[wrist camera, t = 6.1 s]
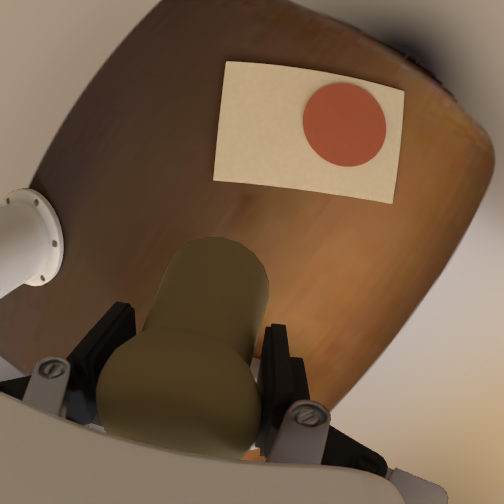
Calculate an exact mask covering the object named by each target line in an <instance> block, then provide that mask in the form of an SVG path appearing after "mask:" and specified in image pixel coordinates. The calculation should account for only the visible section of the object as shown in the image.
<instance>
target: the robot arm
mask: <svg viewBox="0 0 504 504" xmlns="http://www.w3.org/2000/svg"><path fill="white" fill-rule="evenodd" d="M63 251H64V245H63V235H62V229H61V226H60V223H59V219H58V217H57V215H56V213H55V211H54V209H53V207H52V206H51V204H50V203H49V202H48V201H47V199H46V198H45V197H44V196H43V195H41V194H40V193H39V192H37V191H35V190H33V189H28V188H23V189H18V190H15V191H12V192H11V193H9V194H8V195H7V196H6V197H5V198H4V199H3V201H2V203H1V205H0V298H2V297H3V296H5V295H6V294H8V293H9V292H11V291H12V290H14V289H15V288H17V287H18V286H20V285H21V284H23V283H25V284H28V285H31V286H40V285H43V284H45V283H47V282H49V281H50V280H51V279H53V278H54V276H55V275H56V274H57V273H58V271H59V269H60V267H61V263H62V259H63ZM134 336H136V324H135V310H134V308H131V305H130V304H128V303H123V302H116V303H115V304H114V305H113V306H112V307H111V308H110V309H109V310H108V311H107V313H106V314H105V315H104V316H103V317H102V318H101V319H100V320H99V321H98V323H97V324H96V325H95V326H94V327H93V328H92V329H91V330H90V331H89V332H88V334H87V335H86V336H85V337H84V338H83V339H82V341H81V342H80V343H79V344H78V345H77V346H76V348H75V349H74V350H73V351H72V352H71V353H70V355H69V356H68V357H67V358H66V359H64V358H62V357H58V356H51V357H46V358H44V359H42V360H41V361H39V362H38V363H37V365H36V366H35V369H34V371H33V374H32V375H30V376H26V377H22V378H16V379H12V380H7V381H2V382H0V504H447V503H448V495H447V492H446V491H445V489H444V488H443V487H441V486H439V485H437V484H435V483H432V482H429V481H427V480H424V479H422V478H419V477H417V476H414V475H412V474H410V473H408V472H405V471H403V470H401V469H398V468H395V469H394V470H392V469H390V468H388V466H387V463H386V461H385V460H384V458H383V457H382V456H380V455H379V454H378V453H376V452H374V451H372V450H371V449H369V448H367V447H365V446H363V445H362V444H360V443H358V442H357V441H355V440H354V439H352V438H350V437H348V436H347V435H345V434H344V433H342V432H340V431H339V430H337V429H335V428H334V427H332V426H331V425H330V421H331V415H330V412H329V410H328V409H327V408H326V407H325V406H324V405H322V404H320V403H318V402H316V401H312V400H310V395H309V390H308V384H307V378H306V373H305V367H304V362H303V359H302V358H297V357H290V354H289V347H288V339H287V331H286V325H281V324H271V327H266V329H265V335H264V341H263V347H262V353H261V359H260V365H259V371H258V377H257V386H258V388H259V391H260V394H261V403H262V412H261V427H260V430H259V433H258V436H257V439H256V440H255V447H256V448H260V456H264V457H266V458H267V460H266V462H258V461H247V460H236V459H227V458H219V457H212V456H205V455H199V454H193V453H187V452H182V451H176V450H171V449H166V448H162V447H157V446H153V445H148V444H144V443H140V442H136V441H132V440H129V439H125V438H121V437H118V436H115V435H111V434H108V433H105V432H101V431H98V430H95V429H92V428H89V425H88V424H90V423H93V424H96V425H99V426H103V425H102V423H101V421H100V418H99V416H98V410H97V405H96V387H97V383H98V379H99V375H100V373H101V371H102V369H103V367H104V366H105V364H106V362H107V360H108V359H109V357H110V356H111V355H112V353H113V352H114V350H115V349H116V348H118V347H119V346H121V345H122V344H124V343H125V342H127V341H128V340H130V339H131V338H133V337H134Z"/></svg>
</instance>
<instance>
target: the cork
mask: <svg viewBox="0 0 504 504" xmlns="http://www.w3.org/2000/svg"><path fill="white" fill-rule="evenodd" d="M268 298H269V280H268V277H267V274H266V271H265V268H264V266H263V265H262V263H261V262H260V260H259V259H258V258H257V256H256V255H255V254H254V253H253V252H252V251H250V250H249V249H248V248H246V247H245V246H243V245H242V244H241V243H239V242H236V241H233V240H230V239H226V238H223V237H204V238H201V239H197V240H194V241H191V242H189V243H187V244H186V245H185V246H183V247H182V248H181V249H179V250H178V251H177V252H176V253H175V254H174V256H173V257H172V259H171V260H170V262H169V263H168V265H167V267H166V270H165V272H164V275H163V277H162V280H161V282H160V285H159V287H158V290H157V292H156V295H155V298H154V300H153V303H152V305H151V308H150V311H149V313H148V316H147V319H146V321H145V324H144V327H143V329H142V332H140V333H139V334H137V335H136V336H134V337H133V338H131V339H130V340H128V341H127V342H125V343H124V344H122V345H121V346H119V347H118V348H116V349H115V350H114V352H113V353H112V355H111V356H110V357H109V359H108V360H107V362H106V364H105V366H104V367H103V369H102V371H101V373H100V375H99V379H98V383H97V387H96V405H97V410H98V416H99V418H100V421H101V423H102V425H103V427H104V429H105V431H106V433H108V434H111V435H115V436H118V437H121V438H125V439H129V440H132V441H136V442H140V443H144V444H148V445H153V446H157V447H162V448H166V449H171V450H176V451H182V452H187V453H193V454H199V455H205V456H212V457H219V458H227V459H236V460H241V459H242V458H243V457H244V456H245V455H246V454H247V453H248V452H249V450H250V448H251V447H252V445H253V444H254V442H255V440H256V439H257V436H258V433H259V430H260V427H261V412H262V403H261V394H260V391H259V388H258V386H257V383H256V381H255V379H254V376H253V374H252V372H251V369H250V366H251V362H252V359H253V355H254V351H255V347H256V344H257V340H258V336H259V332H260V329H261V325H262V321H263V317H264V313H265V309H266V305H267V301H268Z"/></svg>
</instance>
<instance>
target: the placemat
mask: <svg viewBox="0 0 504 504" xmlns="http://www.w3.org/2000/svg"><path fill="white" fill-rule="evenodd" d="M403 106H404V91H402V90H398V89H395V88H391V87H388V86H384V85H380V84H377V83H373V82H369V81H365V80H360V79H356V78H351V77H347V76H342V75H337V74H332V73H327V72H321V71H315V70H309V69H303V68H296V67H288V66H280V65H271V64H261V63H248V62H232V61H226V67H225V74H224V82H223V91H222V99H221V108H220V117H219V126H218V136H217V146H216V156H215V167H214V178H213V180H217V181H229V182H239V183H249V184H259V185H268V186H276V187H285V188H293V189H301V190H308V191H316V192H323V193H330V194H337V195H343V196H350V197H356V198H362V199H368V200H374V201H380V202H386V203H391V204H392V202H393V196H394V189H395V183H396V176H397V168H398V160H399V152H400V142H401V132H402V120H403Z"/></svg>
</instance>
